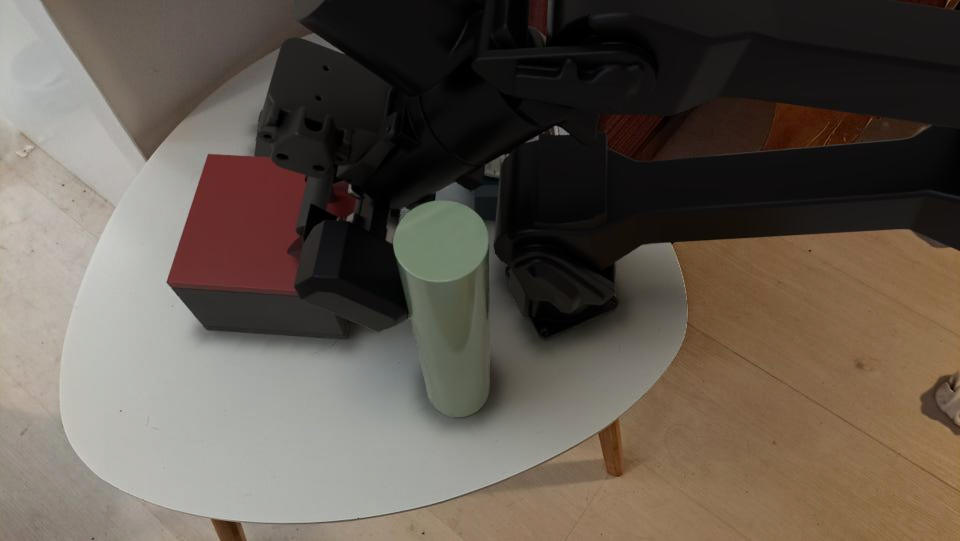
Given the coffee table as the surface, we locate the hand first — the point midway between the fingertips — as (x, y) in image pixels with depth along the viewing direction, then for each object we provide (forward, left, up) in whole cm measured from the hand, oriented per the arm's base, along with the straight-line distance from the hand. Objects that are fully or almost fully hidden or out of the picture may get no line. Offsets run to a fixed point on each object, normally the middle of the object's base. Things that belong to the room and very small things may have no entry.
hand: (302, 217), depth 48 cm
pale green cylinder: (-6, +12, -8) cm, 16 cm away
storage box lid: (+2, -1, -1) cm, 3 cm away
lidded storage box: (+2, -1, -8) cm, 8 cm away
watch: (-16, -1, -8) cm, 18 cm away
